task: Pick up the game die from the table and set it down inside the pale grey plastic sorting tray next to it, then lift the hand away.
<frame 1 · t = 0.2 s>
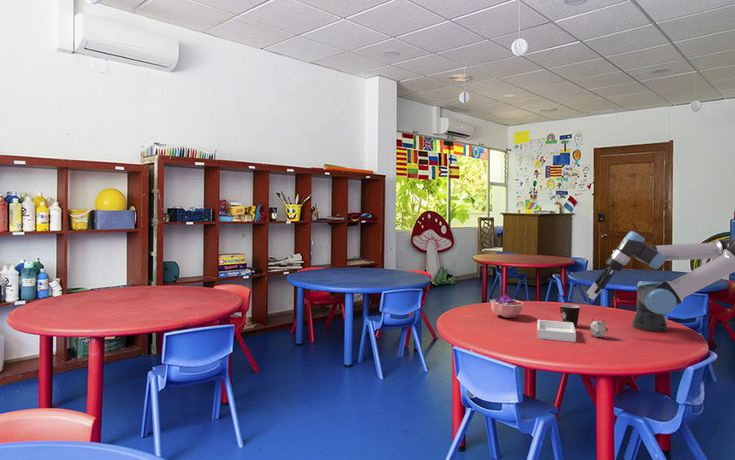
hand: (589, 296, 236), 16 cm above the table, tool tilted 35°, fingers open, 13 cm apart
sorting tray: (555, 334, 226), on the table
game die: (597, 337, 222), on the table
cell model: (506, 317, 263), on the table
coffee mug: (569, 325, 245), on the table
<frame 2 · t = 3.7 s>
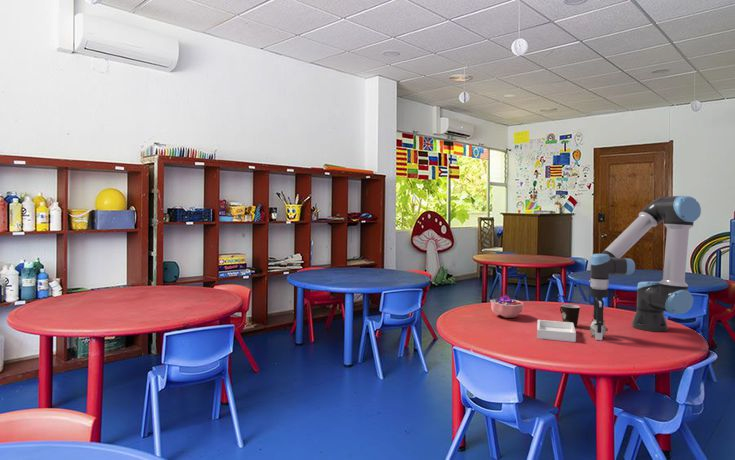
hand: (597, 336, 222), 0 cm above the table, tool pointing down, fingers closed on game die, 10 cm apart
game die: (597, 337, 222), on the table, touching gripper
everything else where it was.
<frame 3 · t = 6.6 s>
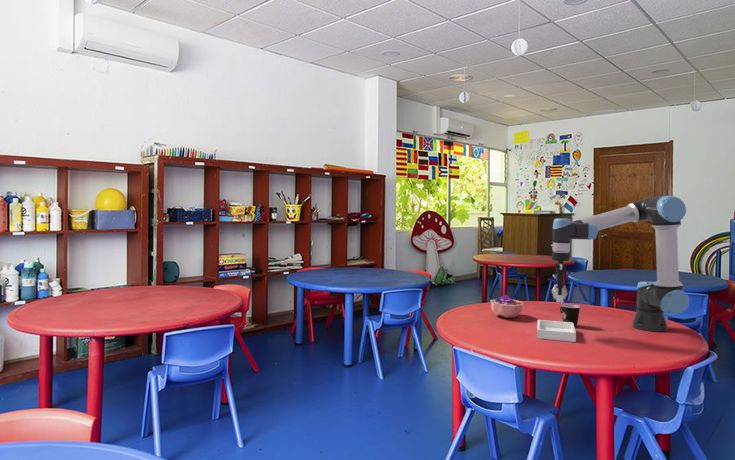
hand: (559, 300, 225), 16 cm above the table, tool pointing down, fingers closed on game die, 10 cm apart
game die: (559, 301, 225), point 16 cm above the table, touching gripper
everything else where it was.
when the fingers open (3 cm above the table, at t = 9.5 s): game die drops 2 cm, resting on sorting tray.
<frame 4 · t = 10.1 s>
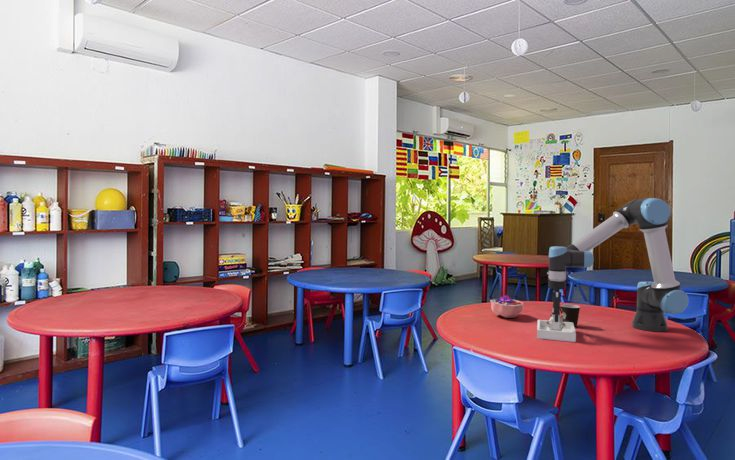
hand: (555, 325, 226), 4 cm above the table, tool pointing down, fingers open, 13 cm apart
game die: (555, 332, 227), point 1 cm above the table, touching sorting tray
everything else where it was.
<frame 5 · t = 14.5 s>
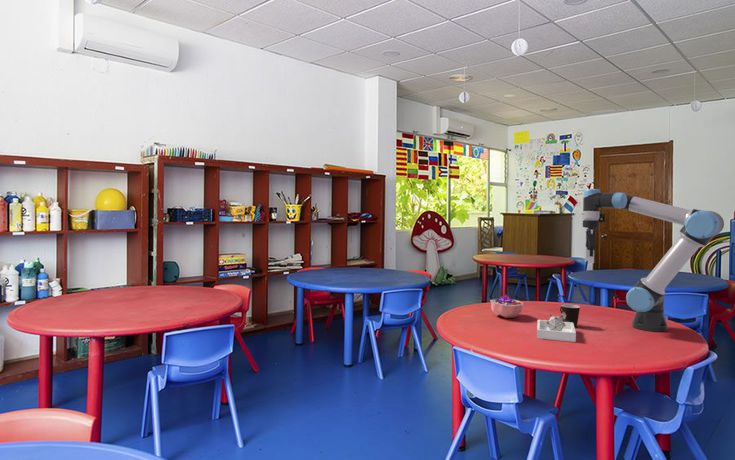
hand: (589, 261, 247), 32 cm above the table, tool pointing down, fingers open, 13 cm apart
nothing on the table moved.
at the end: game die inside the target area on the sorting tray (0.3 cm from its centre), point 0.8 cm above the sorting tray's base; game die tilted 0°; the gripper is holding nothing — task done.
